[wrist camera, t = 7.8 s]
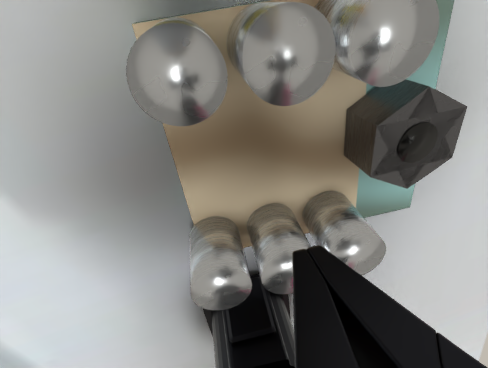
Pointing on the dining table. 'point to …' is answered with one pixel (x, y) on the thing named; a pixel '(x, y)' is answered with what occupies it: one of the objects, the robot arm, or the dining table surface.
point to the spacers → (281, 94)
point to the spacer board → (279, 140)
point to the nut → (402, 132)
